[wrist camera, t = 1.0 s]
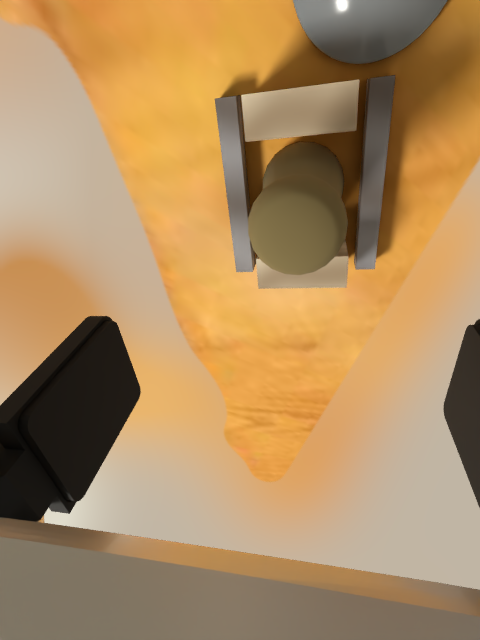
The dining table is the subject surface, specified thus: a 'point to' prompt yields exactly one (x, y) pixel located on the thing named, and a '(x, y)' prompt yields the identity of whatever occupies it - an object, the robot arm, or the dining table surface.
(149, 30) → the dining table surface
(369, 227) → the grey and cream frame
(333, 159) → the pepper mill
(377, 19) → the coaster
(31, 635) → the robot arm
